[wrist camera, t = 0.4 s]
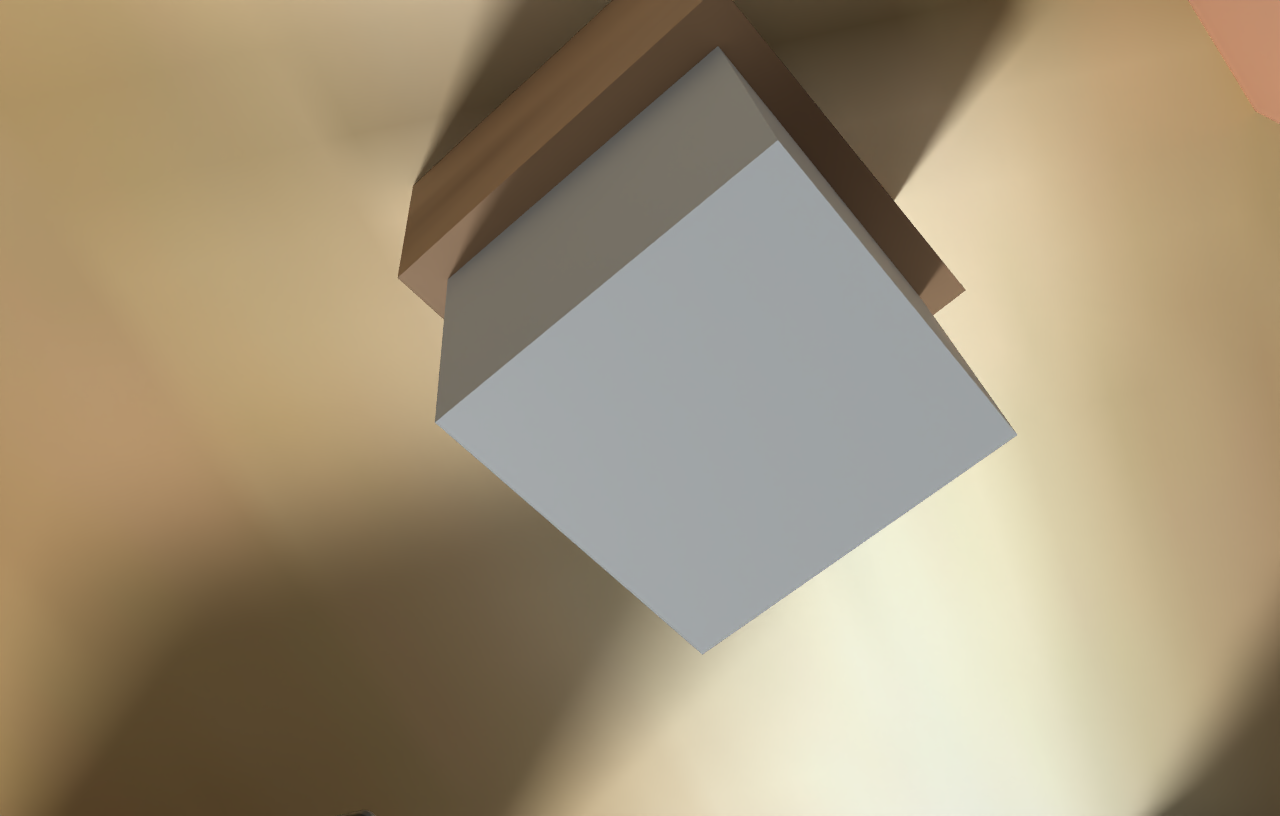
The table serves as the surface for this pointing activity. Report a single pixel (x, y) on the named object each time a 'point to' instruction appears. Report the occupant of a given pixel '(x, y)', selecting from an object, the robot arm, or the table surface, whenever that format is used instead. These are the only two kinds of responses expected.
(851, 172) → the walnut base block
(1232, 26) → the terracotta cube
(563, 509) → the slate block
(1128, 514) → the table surface
